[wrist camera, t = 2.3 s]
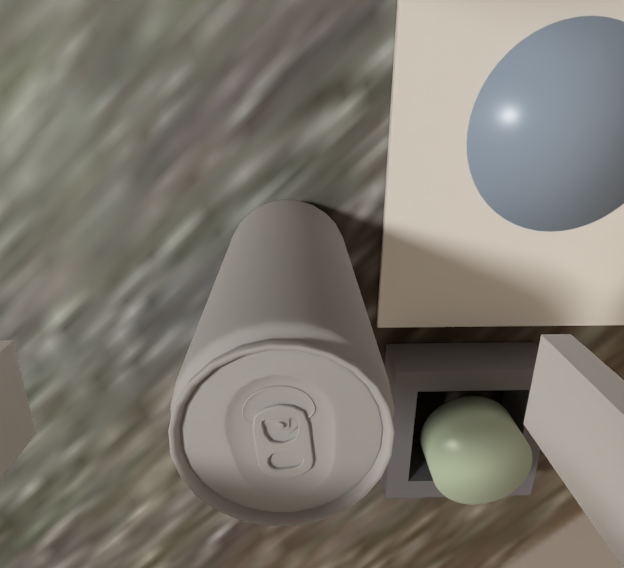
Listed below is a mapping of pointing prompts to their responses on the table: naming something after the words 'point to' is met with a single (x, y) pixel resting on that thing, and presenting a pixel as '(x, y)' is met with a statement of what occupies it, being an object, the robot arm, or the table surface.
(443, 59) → the paper sheet
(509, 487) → the button
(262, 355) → the beverage can
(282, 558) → the table surface
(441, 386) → the button housing
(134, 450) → the table surface
